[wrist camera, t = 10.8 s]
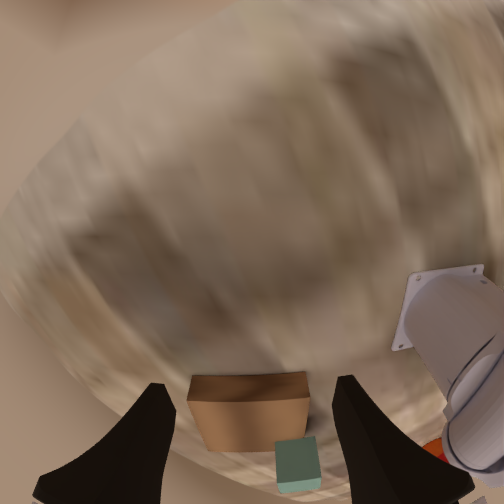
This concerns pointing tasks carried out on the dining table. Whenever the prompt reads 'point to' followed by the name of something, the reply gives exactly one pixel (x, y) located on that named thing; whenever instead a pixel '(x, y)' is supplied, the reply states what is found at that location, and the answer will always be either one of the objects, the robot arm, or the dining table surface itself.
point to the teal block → (297, 465)
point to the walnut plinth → (249, 410)
